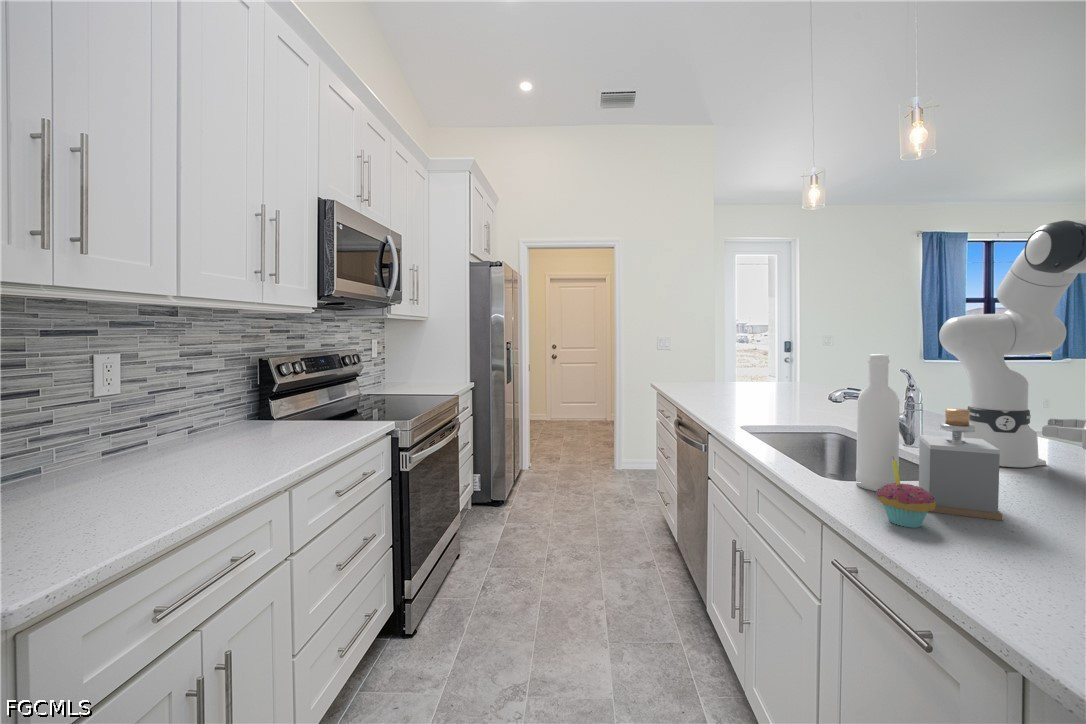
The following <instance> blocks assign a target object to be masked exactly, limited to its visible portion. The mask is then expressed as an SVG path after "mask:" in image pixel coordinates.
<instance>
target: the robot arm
mask: <svg viewBox="0 0 1086 724" xmlns="http://www.w3.org/2000/svg"><path fill="white" fill-rule="evenodd" d="M1079 274H1086V218H1082V219H1076V220H1065V219H1064V220H1059V221H1054V222H1050V223H1047V224H1043V225H1041V226H1039V227H1038V228H1036V229H1035V230H1033V232H1032V233H1031V234H1030V236H1029V237H1028V239H1027V240H1026V243H1025V245H1024V248H1023V249H1022V250H1021V252H1019V254H1018V255H1017V257H1016V258H1015V260H1014V261H1013V263H1012V265H1011V266H1010V268H1009V269H1008V271H1007V273H1006V274H1005V276H1004V277H1003V279H1002V281H1001V283H1000V284H999V286H998V288H997V289H996V298H997V301H998V302H999V304H1000V305H1002V306H1003V307H1004V308H1006V309H1007V310H1006V311H1005V312H1002V313H1001V312H1000V313H978V314H977V313H974V314H967V315H960V316H956V317H951V318H949V319H947V320H946V321H945V322H944V323H943V325H941V328H940V330H939V333H938V335H939V336H938V338H939V339H938V340H939V342H940V344H941V346H942V348H943V349H944V350H945V351H947V352H948V353H949V354H951V355H953V357H955V358H956V359H957V360H958V361H959V362H960V363H961V364H962V366H963V367H964V369H965V371H966V373H967V374H966V375H967V377H968V383H969V384H968V385H969V406H967V409H966V410H970V425H974V426H975V432H968V433H967V432H962V438H974V439H983V440H985V441H986V442H988V443H990V444H991V445H993V446H994V447H996V448H998V449H999V450H1000V460H999V467H1004V468H1005V467H1008V468H1033V467H1036V466H1046V465H1047V461H1046V460H1045V459H1042V458H1039V442H1038V432H1037V431H1035V429H1032V428H1031V427H1030V423H1031V410H1029V409H1028V407H1029V381H1028V379H1027V378H1026V376H1024V375H1022V374H1021V373H1019V372H1017V371H1015V370H1013V369H1010V368H1009V367H1008V364H1007V363H1006V361H1005V356H1032V355H1039V354H1044V353H1045V354H1046V353H1050V352H1054V351H1056V350H1058V349H1059V348H1060V347H1061V346H1062V345H1063V344H1064V342H1065V340H1066V339H1067V338H1066V337H1067V327H1066V325H1065V324H1064V321H1062V320H1061V318H1059V317H1058V316H1056V313H1055V311H1056V307H1057V305H1058V304H1059V302H1060V300H1061V299H1062V297H1063V296H1064V295H1065V293H1066V291H1067V290H1068V288H1070V286H1071V284H1072V283H1073V282H1074V280H1075V279H1076V278H1077V276H1078V275H1079ZM1041 435H1042V436H1043V437H1046V438H1053V439H1054V438H1055V439H1061V440H1066V441H1069V442H1078V443H1081V447H1082V449H1084V450H1085V451H1086V418H1052V417H1051V418H1048V420H1047V424H1044V425H1043V427H1042V429H1041Z"/></svg>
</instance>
